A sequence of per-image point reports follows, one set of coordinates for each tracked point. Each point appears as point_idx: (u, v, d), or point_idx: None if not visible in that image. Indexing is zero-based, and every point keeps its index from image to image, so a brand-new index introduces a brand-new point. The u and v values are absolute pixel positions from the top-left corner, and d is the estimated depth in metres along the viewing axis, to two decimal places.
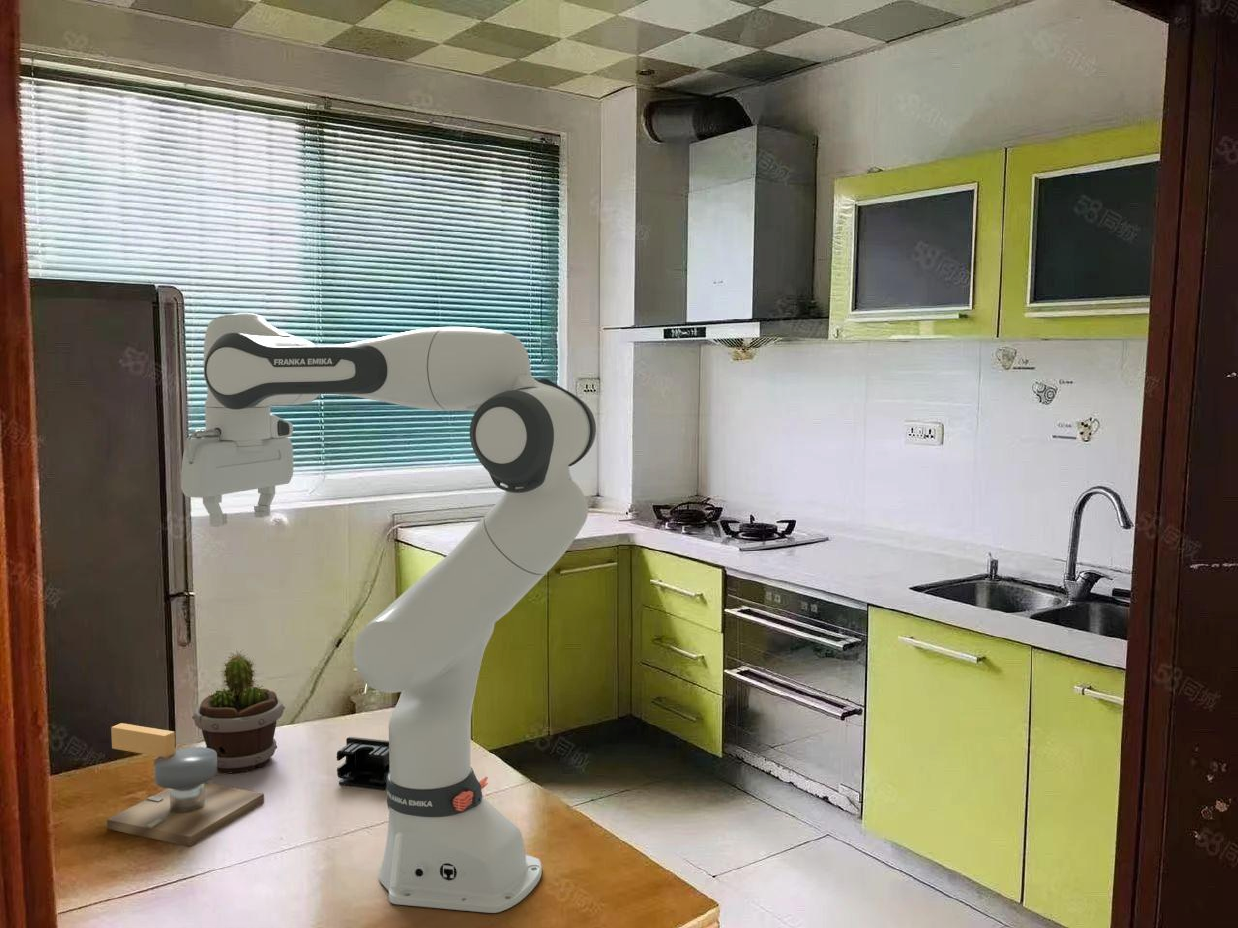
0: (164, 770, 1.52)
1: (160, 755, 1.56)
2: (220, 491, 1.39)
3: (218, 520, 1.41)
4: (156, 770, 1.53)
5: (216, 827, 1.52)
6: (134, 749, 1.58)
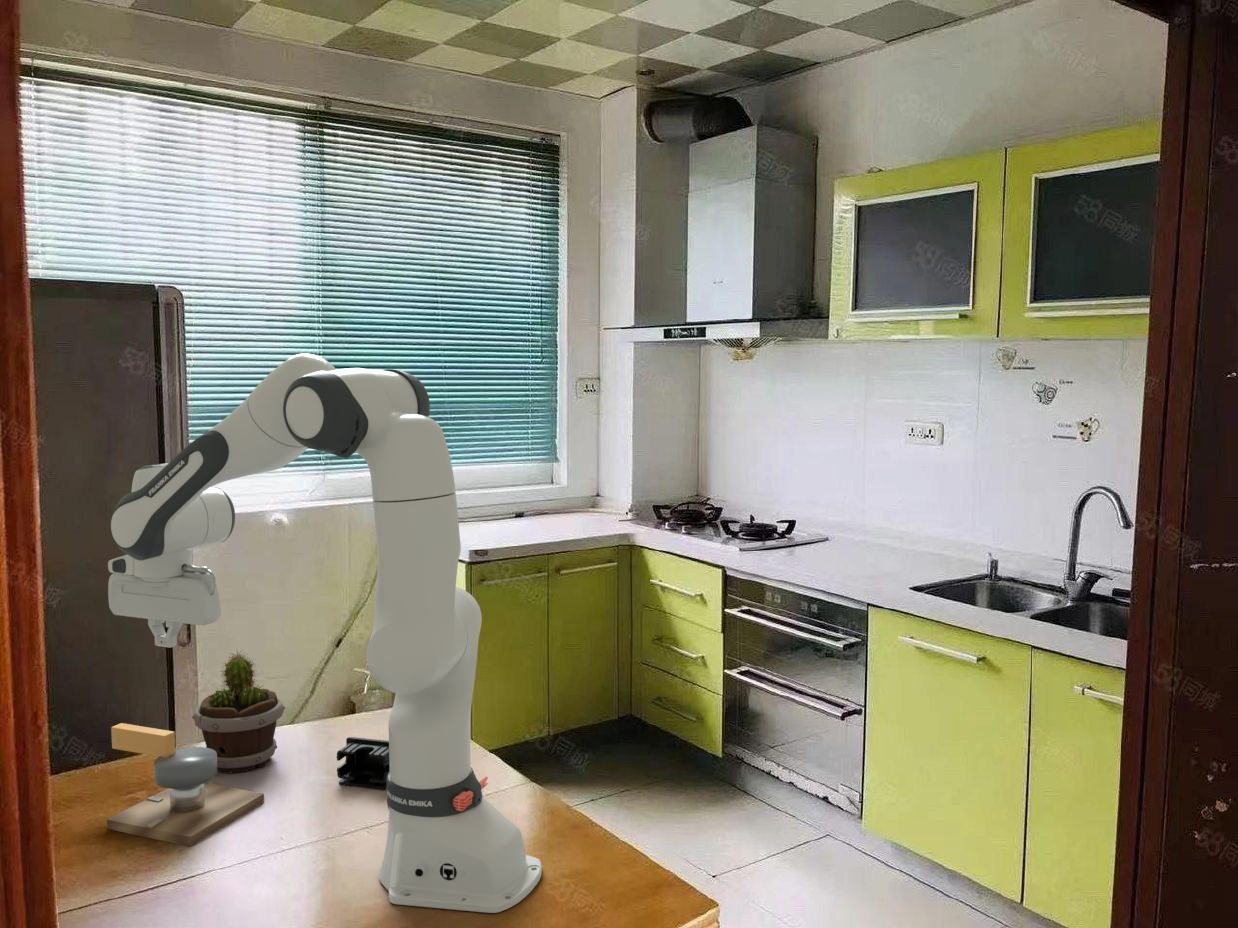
0: (164, 770, 1.52)
1: (160, 755, 1.56)
2: None
3: (175, 640, 1.63)
4: (156, 770, 1.53)
5: (216, 827, 1.52)
6: (134, 749, 1.58)
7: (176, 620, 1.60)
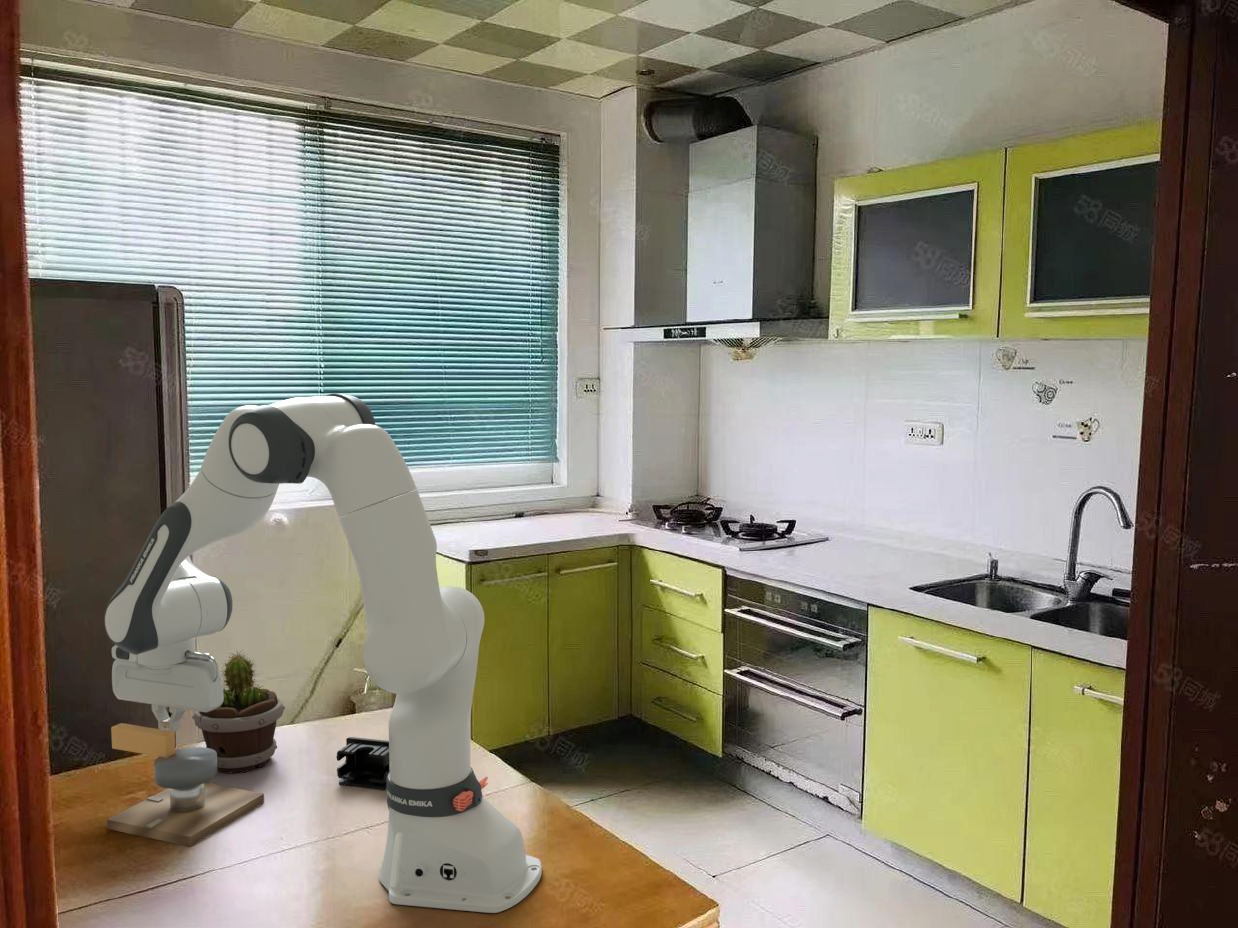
0: (164, 770, 1.52)
1: (160, 755, 1.56)
2: None
3: (178, 724, 1.64)
4: (156, 770, 1.53)
5: (216, 827, 1.52)
6: (134, 749, 1.58)
7: (179, 706, 1.61)
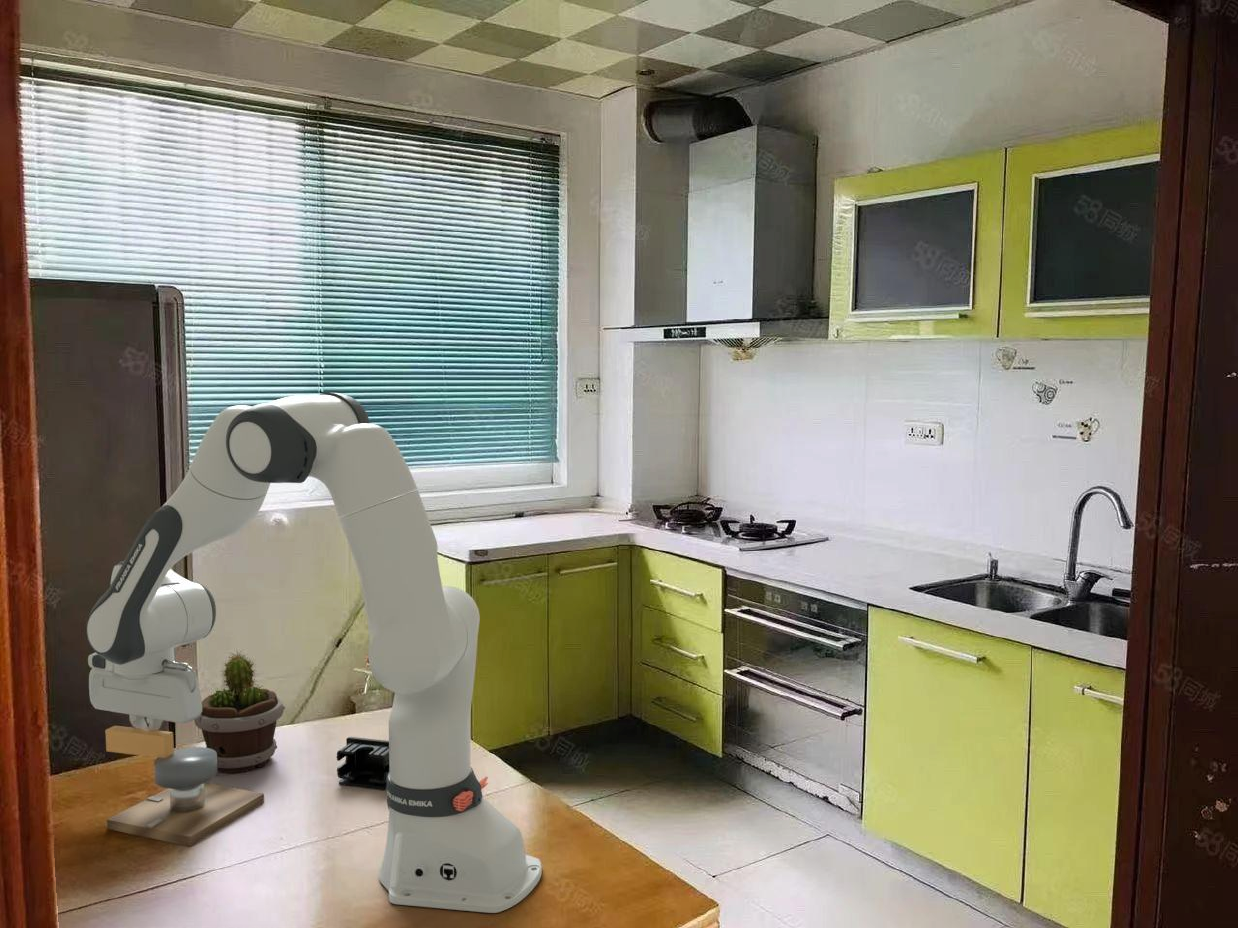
0: (166, 770, 1.52)
1: (159, 756, 1.56)
2: None
3: None
4: (157, 771, 1.53)
5: (216, 827, 1.52)
6: (130, 751, 1.57)
7: (157, 717, 1.56)
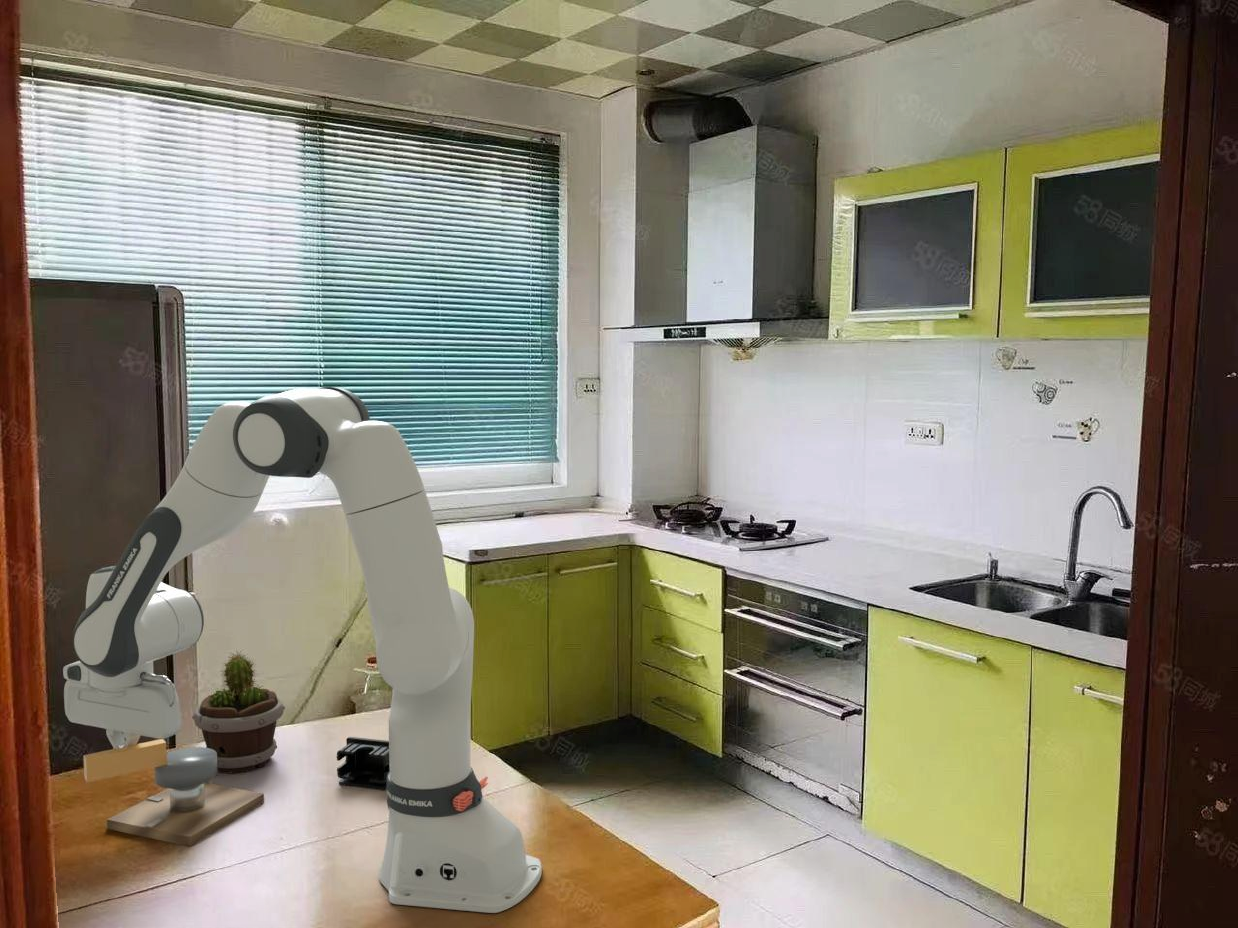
0: (195, 768, 1.52)
1: (159, 764, 1.53)
2: None
3: None
4: (179, 773, 1.52)
5: (216, 827, 1.52)
6: (121, 771, 1.49)
7: (134, 732, 1.49)
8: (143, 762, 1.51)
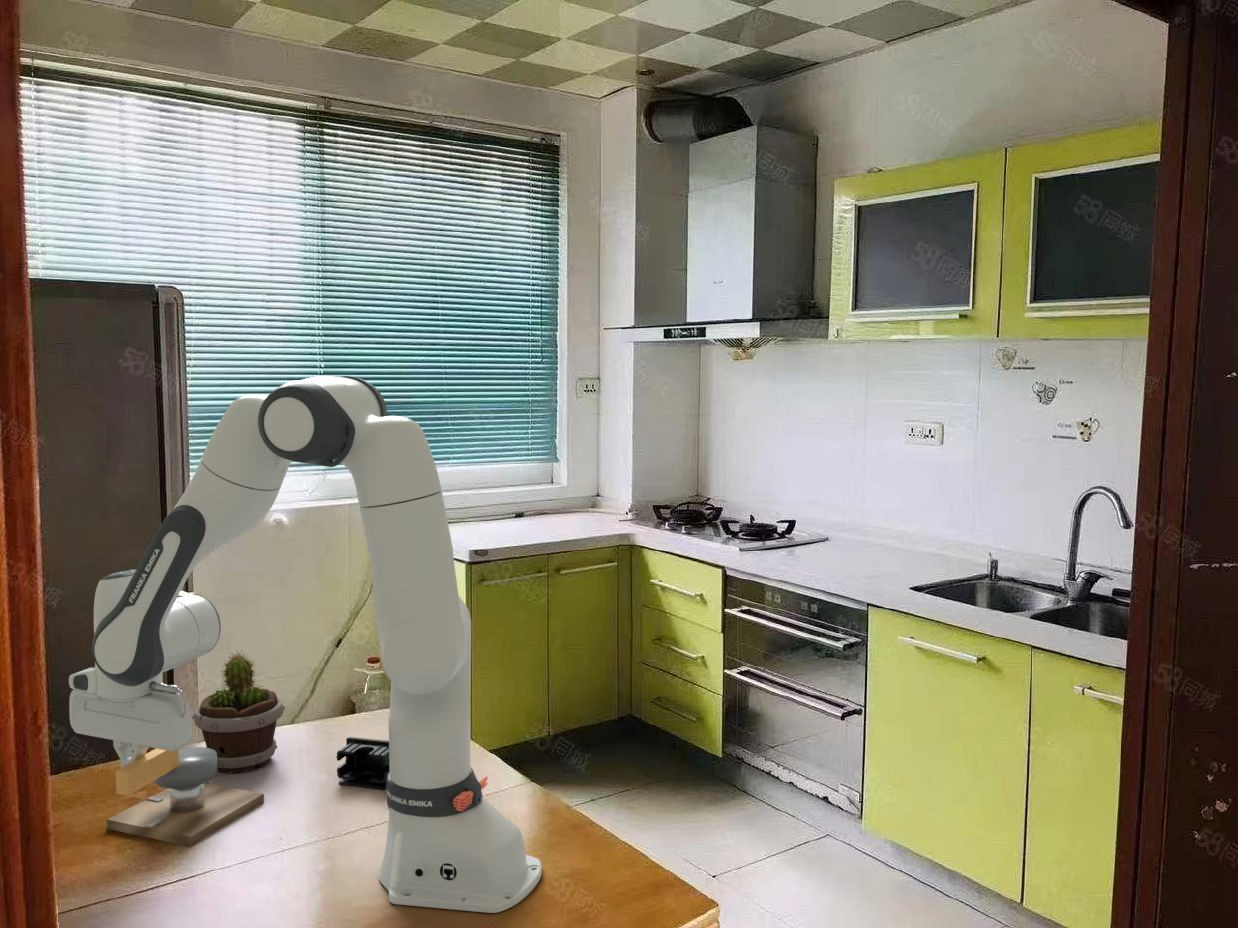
0: (212, 761, 1.55)
1: (174, 767, 1.52)
2: None
3: None
4: (200, 769, 1.53)
5: (216, 827, 1.52)
6: (150, 779, 1.47)
7: (143, 744, 1.44)
8: (164, 767, 1.49)
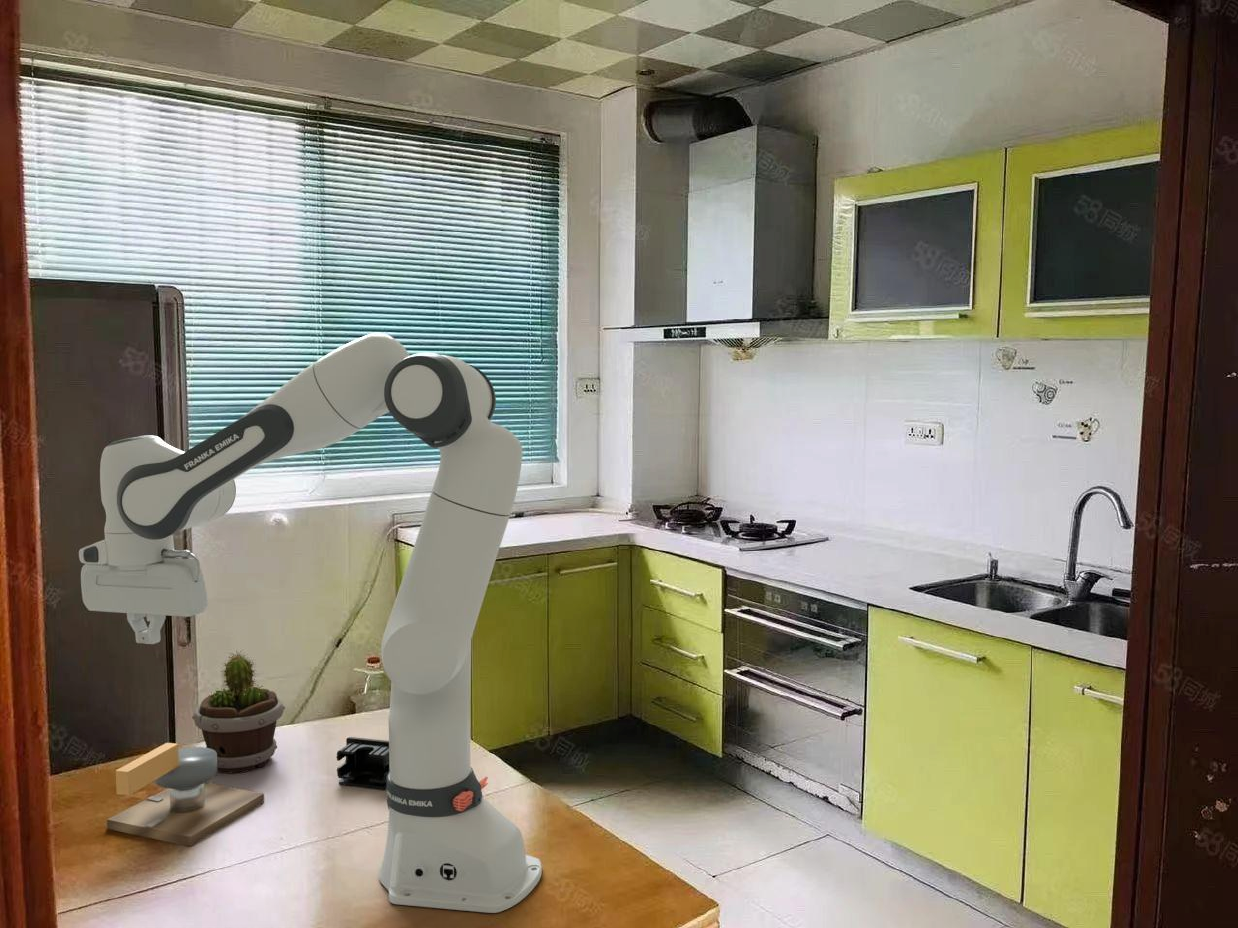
0: (212, 761, 1.55)
1: (174, 767, 1.52)
2: None
3: (158, 635, 1.45)
4: (200, 769, 1.53)
5: (216, 827, 1.52)
6: (150, 779, 1.47)
7: (158, 612, 1.41)
8: (164, 767, 1.49)
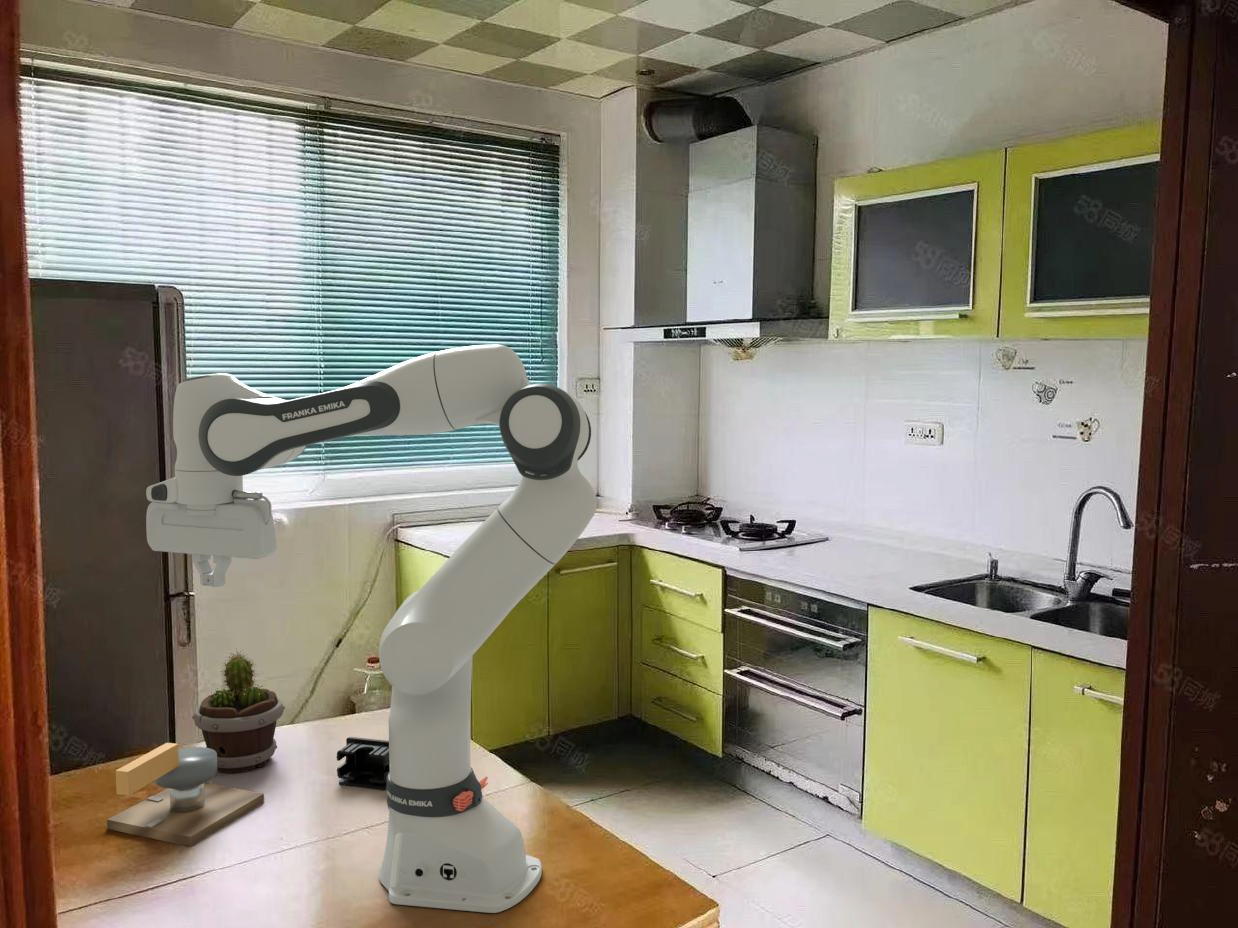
0: (212, 761, 1.55)
1: (174, 767, 1.52)
2: None
3: (223, 578, 1.42)
4: (200, 769, 1.53)
5: (216, 827, 1.52)
6: (150, 779, 1.47)
7: (226, 554, 1.39)
8: (164, 767, 1.49)
